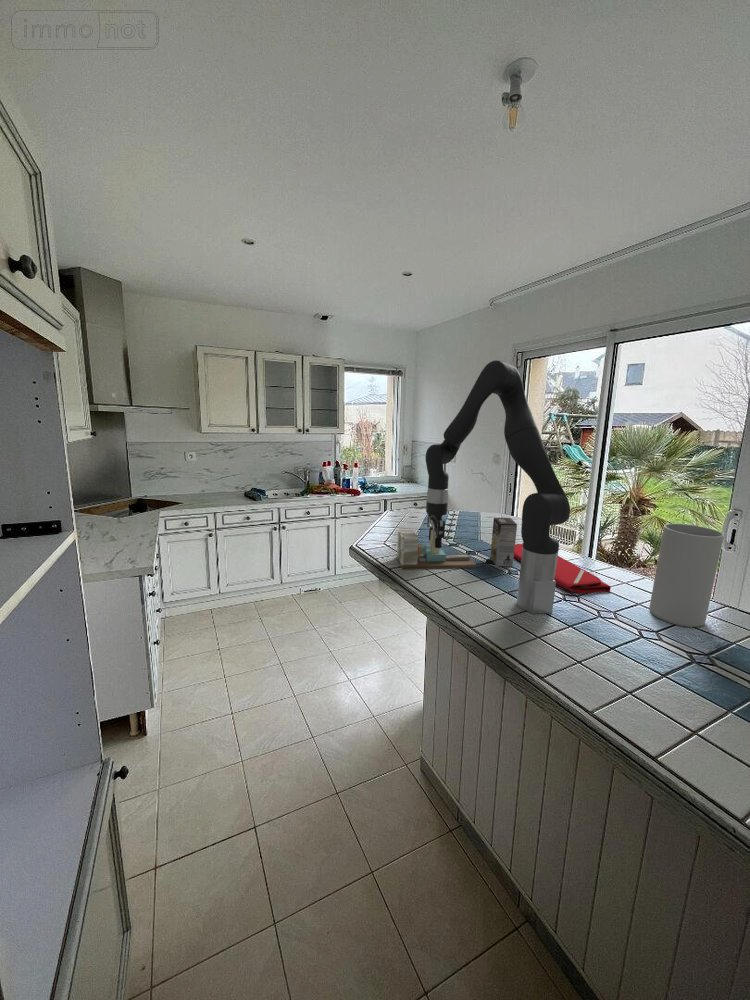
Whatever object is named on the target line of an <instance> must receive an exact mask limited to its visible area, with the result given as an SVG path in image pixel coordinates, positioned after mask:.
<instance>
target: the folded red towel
mask: <svg viewBox="0 0 750 1000" xmlns="http://www.w3.org/2000/svg"><path fill="white" fill-rule="evenodd" d="M522 549H523V543H520V544H515V549H514V558H513V559H516V560H518V561H519V562H521V558H522ZM555 581H556V585H558V586H560V587H562V588H563V589H566V590H568V591H570V592H572V593H575V594H592V593H604V592H605V593H607V592H608V593H610V591H611V586H610V585H609V584H607V583H605V582H603V581H602V580H601V578H599V577H598V576H597V575H594V574H593V573H591V572H588V571H587V570H585V569H583V568H581V567H580V566H578V565H576V564H574V563H572V562H570V561H568V560H567V559H564V558H563V557H561V556H560V555H558V558H557V566H556V574H555Z"/></svg>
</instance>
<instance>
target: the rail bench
mask: <svg viewBox="0 0 750 1000" xmlns="http://www.w3.org/2000/svg"><path fill="white" fill-rule="evenodd" d="M418 544H419V536H418V535H417V534H416V533H415V531H414V530H397V552H396V559H397V561H398V563H399V565H400V567H401V569H402V570H425V569H426V570H428V569H429V570H430V569H438V570H439V569H471V568H473V569H474V568H478V567H477V566H478V565H477V563H476V562H475V561H474V560H473V559H471V557H470V556H469V555H468V554H466V553H445V554H446V559H445V561H435V562H426V557H425V556H423V554H421V555H418Z"/></svg>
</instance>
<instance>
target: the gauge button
mask: <svg viewBox="0 0 750 1000" xmlns="http://www.w3.org/2000/svg"><path fill="white" fill-rule="evenodd" d="M420 545H421V544H420V543H418V555H421V546H420Z"/></svg>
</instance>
